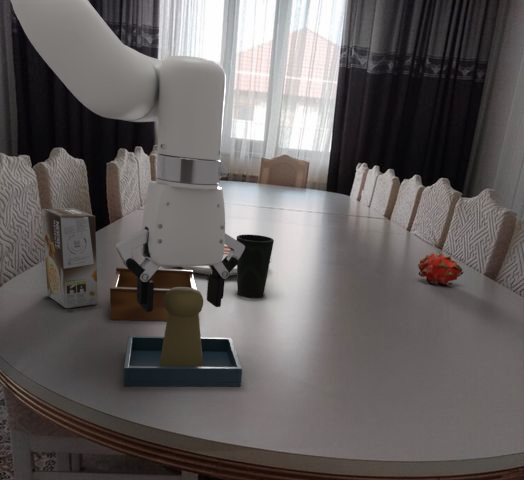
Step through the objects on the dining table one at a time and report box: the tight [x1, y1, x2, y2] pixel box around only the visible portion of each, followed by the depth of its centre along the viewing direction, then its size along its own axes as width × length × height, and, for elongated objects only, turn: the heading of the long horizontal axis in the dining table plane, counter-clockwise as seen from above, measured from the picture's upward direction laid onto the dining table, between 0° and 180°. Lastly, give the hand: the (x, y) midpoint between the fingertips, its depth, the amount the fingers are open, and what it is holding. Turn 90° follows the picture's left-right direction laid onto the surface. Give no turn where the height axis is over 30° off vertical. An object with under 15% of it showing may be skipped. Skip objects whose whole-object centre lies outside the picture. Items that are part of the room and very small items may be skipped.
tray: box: [123, 335, 243, 387], centre depth 73 cm, size 15×11×3 cm
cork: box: [160, 287, 204, 367], centre depth 71 cm, size 6×6×11 cm
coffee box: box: [41, 207, 99, 309], centre depth 93 cm, size 9×6×16 cm
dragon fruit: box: [417, 252, 464, 286], centre depth 135 cm, size 8×8×12 cm
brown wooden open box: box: [109, 266, 197, 322], centre depth 96 cm, size 15×15×6 cm
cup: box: [236, 234, 275, 299], centre depth 108 cm, size 8×8×12 cm
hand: (181, 306), depth 70 cm, fingers open, 9 cm apart
